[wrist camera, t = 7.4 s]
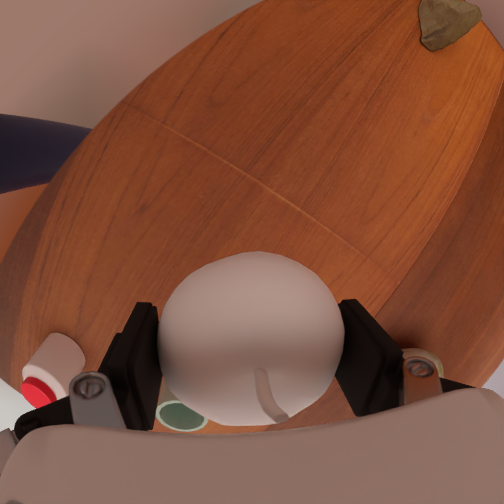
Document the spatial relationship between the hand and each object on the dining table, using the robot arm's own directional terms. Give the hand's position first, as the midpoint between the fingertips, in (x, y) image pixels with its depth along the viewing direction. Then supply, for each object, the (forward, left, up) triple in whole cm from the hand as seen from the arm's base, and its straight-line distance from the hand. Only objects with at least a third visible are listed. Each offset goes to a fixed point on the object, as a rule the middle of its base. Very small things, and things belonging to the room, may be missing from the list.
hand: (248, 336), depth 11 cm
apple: (0, 0, -3) cm, 3 cm away
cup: (-6, -22, -22) cm, 32 cm away
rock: (+27, +33, -23) cm, 49 cm away
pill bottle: (-26, -21, -23) cm, 40 cm away
